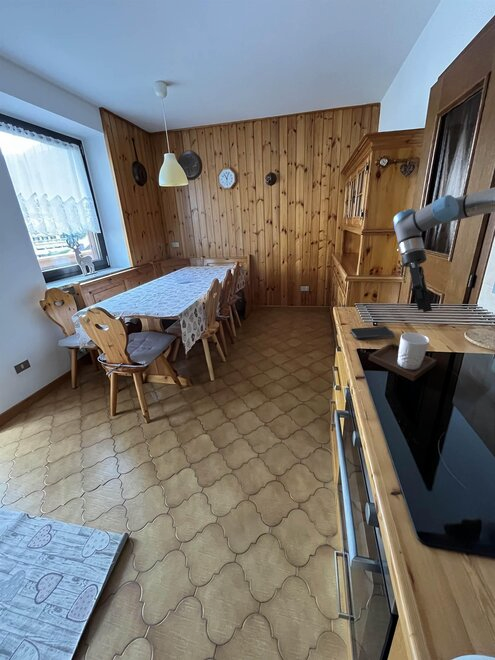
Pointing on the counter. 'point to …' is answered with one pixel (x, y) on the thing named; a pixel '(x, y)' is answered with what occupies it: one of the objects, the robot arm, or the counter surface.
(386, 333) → the phone
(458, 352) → the counter surface
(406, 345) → the white cup
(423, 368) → the tray
